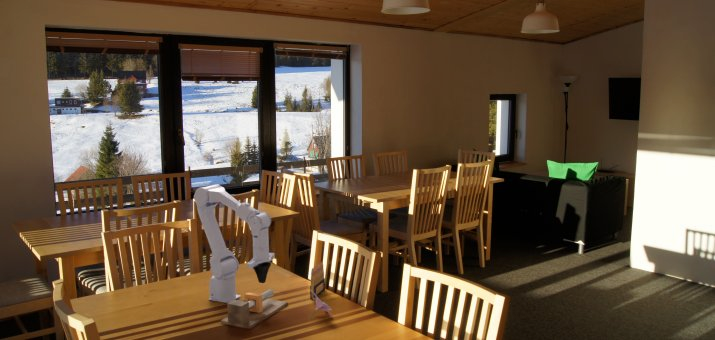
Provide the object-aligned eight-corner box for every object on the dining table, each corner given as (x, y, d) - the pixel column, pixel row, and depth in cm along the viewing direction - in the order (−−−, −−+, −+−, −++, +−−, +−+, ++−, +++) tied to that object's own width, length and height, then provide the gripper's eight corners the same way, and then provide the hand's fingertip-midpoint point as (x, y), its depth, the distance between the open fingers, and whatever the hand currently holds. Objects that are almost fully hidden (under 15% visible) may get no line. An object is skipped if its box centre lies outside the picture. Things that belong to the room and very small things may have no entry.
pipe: (238, 312, 206) (238, 305, 206) (268, 295, 222) (267, 288, 222) (245, 313, 205) (244, 306, 205) (273, 296, 221) (273, 289, 221)
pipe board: (221, 323, 205) (220, 302, 204) (260, 300, 226) (260, 281, 225) (249, 328, 200) (249, 307, 199) (287, 304, 221) (287, 285, 220)
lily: (331, 328, 202) (341, 301, 204) (298, 315, 202) (309, 288, 204) (328, 325, 214) (338, 299, 216) (298, 313, 213) (308, 287, 215)
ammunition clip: (314, 299, 226) (313, 269, 225) (310, 298, 227) (309, 268, 225) (325, 290, 236) (324, 261, 235) (321, 289, 237) (320, 260, 235)
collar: (245, 310, 212) (244, 294, 212) (248, 308, 214) (248, 292, 213) (259, 312, 210) (258, 296, 209) (262, 310, 212) (262, 294, 211)
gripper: (258, 252, 208) (259, 290, 210) (281, 242, 221) (282, 277, 223) (241, 250, 211) (243, 287, 213) (265, 240, 224) (266, 275, 226)
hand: (262, 282), depth 218 cm, fingers closed
